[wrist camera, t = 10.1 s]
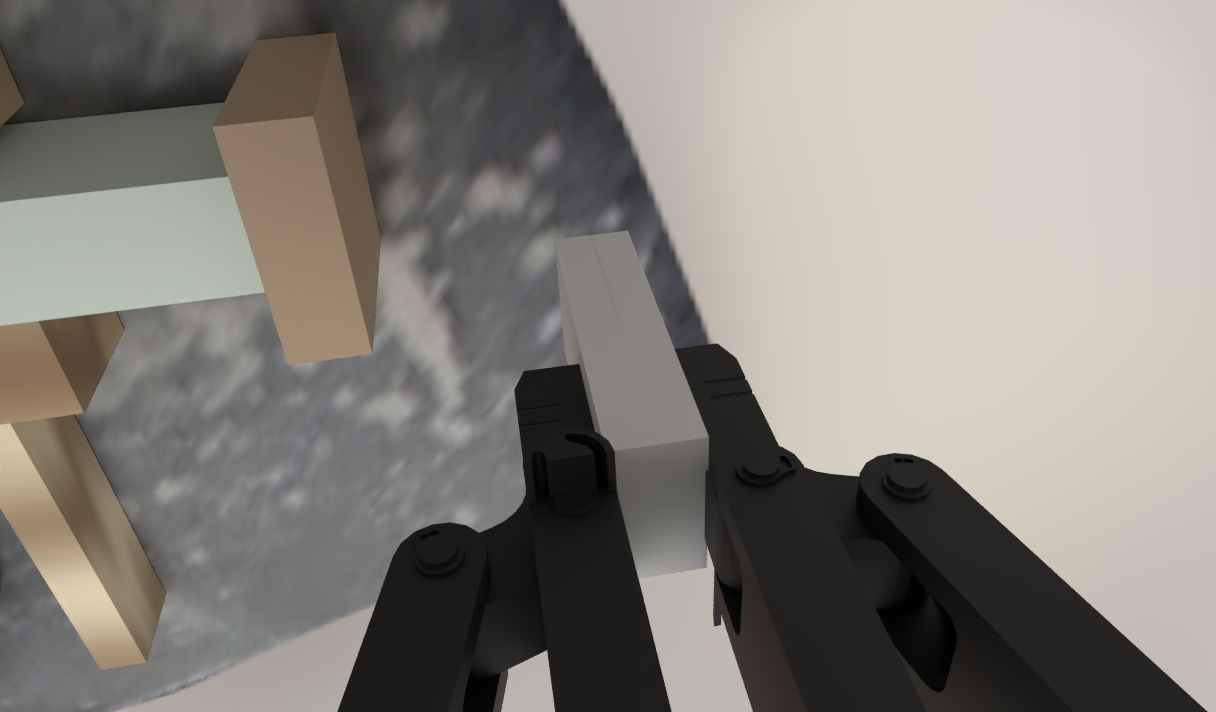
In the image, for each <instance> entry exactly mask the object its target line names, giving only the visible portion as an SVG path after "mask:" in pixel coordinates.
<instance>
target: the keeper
mask: <svg viewBox="0 0 1216 712" xmlns="http://www.w3.org/2000/svg"><path fill="white" fill-rule="evenodd" d="M380 243H381V237H380V232H379V228H378V223H377V219H376V214H375V210H374V205H373V201H372V196H371V192H370V187H369V183H368V178H367V174H366V169H365V165H364V160H363V155H362V151H361V146H360V142H359V137H358V133H357V128H356V124H355V119H354V115H353V110H352V106H351V101H350V97H349V92H348V88H347V83H346V79H345V74H344V70H343V65H342V61H341V56H340V51H339V47H338V42H337V38H336V33H335V32H334V33H324V34H314V35H303V36H293V37H283V38H272V39H262V40H255V42H254V44H253V46H252V48H251V50H250V52H249V54H248V56H247V58H246V60H245V62H244V64H243V66H242V68H241V70H240V72H239V74H238V76H237V78H236V80H235V82H234V84H233V86H232V88H231V90H230V92H229V94H228V96H227V98H226V100H225V102H223V103H213V104H203V105H194V106H184V107H174V108H165V109H155V110H145V111H135V112H126V113H116V114H106V115H97V116H87V117H77V118H68V119H58V120H48V121H39V122H29V123H19V124H10V125H2V126H1V127H0V326H3V325H11V324H19V323H26V322H34V321H42V320H50V319H58V318H66V317H74V316H82V315H90V314H98V313H106V312H114V311H122V310H130V309H138V308H146V307H154V306H161V305H169V304H177V303H185V302H193V301H201V300H209V299H217V298H225V297H233V296H241V295H249V294H257V293H265V294H266V297H267V300H268V303H269V306H270V309H271V313H272V316H273V319H274V322H275V325H276V328H277V331H278V335H279V338H280V341H281V344H282V347H283V350H284V353H285V357H286V360H287V363H288V365H294V364H301V363H309V362H316V361H324V360H331V359H338V358H346V357H353V356H361V355H368V354H372V352H373V339H374V325H375V311H376V298H377V284H378V270H379V257H380Z"/></svg>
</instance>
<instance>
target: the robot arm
mask: <svg viewBox="0 0 1216 712" xmlns="http://www.w3.org/2000/svg"><path fill="white" fill-rule="evenodd" d="M554 242H555V252H556V263H557V273H558V284H559V294H560V305H561V315H562V326H563V337H564V347H565V354H566V359H567V363H568V365H567V366H560V367H552V368H545V369H537V370H530V371H524V372H523V374H522V376H521V378H520V380H519V382H518V384H517V386H516V388H515V390H514V391H515V399H516V407H517V415H518V423H519V430H520V438H521V446H522V454H523V469H524V477H525V484H526V495H525V497H524V500H523V502H522V504H521V506H520V507H519V508H518V509H517V511H516V512H515V513H514V514H513V515H512V516H510V517H509V518H508V519H507V520H505V521H504V522H502V523H500V524H498V525H496V526H494V527H492V528H490V529H488V530H485V531H483V532H480V533H478V532H477V531H475V530H473V529H472V528H470V527H468V526H467V525H461V524H456V523H442V524H433V525H430V526H428V527H425V528H423V529H420V530H418V531H415V532H414V533H413V534H412V535H410V536H409V537H408V538H407V539H405V540H404V541H403V542H402V543H401V544H400V546H399V547H398V549H397V551H396V552H395V554H394V555H393V558H392V561H391V564H390V566H389V569H388V572H387V575H386V578H385V580H384V583H383V586H382V589H381V592H380V594H379V597H378V600H377V603H376V606H375V608H374V611H373V614H372V617H371V620H370V622H369V625H368V628H367V631H366V634H365V637H364V639H363V642H362V645H361V648H360V650H359V653H358V656H357V659H356V661H355V664H354V667H353V670H352V673H351V676H350V678H349V681H348V684H347V687H346V690H345V692H344V695H343V698H342V701H341V703H340V706H339V709H338V712H501V709H502V703H503V698H504V693H505V688H506V683H507V677H508V669H509V668H511V667H513V666H515V665H517V664H520V663H522V662H524V661H526V660H528V659H530V658H532V657H534V656H536V655H538V654H540V653H542V652H544V651H546V650H547V652H548V659H549V667H550V675H551V683H552V690H553V698H554V706H555V712H671V708H670V704H669V700H668V696H667V692H666V687H665V683H664V680H663V676H662V671H661V668H660V664H659V660H658V655H657V651H656V647H655V643H654V639H653V635H652V631H651V627H650V623H649V619H648V615H647V611H646V607H645V603H644V599H643V595H642V591H641V587H640V583H639V579H638V578H643V577H649V576H656V575H662V574H668V573H675V572H681V571H687V570H693V569H700V568H706V567H707V547H708V550H709V553H710V556H711V559H712V562H713V565H714V568H715V569H714V605H713V607H714V608H713V617H714V626H718V625H721V614H722V617H723V620H724V623H725V626H726V630H727V633H728V636H729V639H730V642H731V645H732V648H733V651H734V654H735V658H736V661H737V664H738V667H739V670H740V673H741V676H742V679H743V682H744V685H745V688H746V691H747V694H748V698H749V701H750V704H751V707H752V710H753V712H1207V711H1206V710H1205V709H1204V708H1203V707H1202V706H1201V705H1199V704H1198V703H1197V702H1196V701H1195V700H1194V699H1193V698H1192V697H1191V696H1190V695H1189V694H1187V693H1186V692H1185V691H1184V690H1183V689H1182V688H1181V687H1180V686H1179V685H1178V684H1176V683H1175V682H1174V681H1173V680H1172V679H1171V678H1170V677H1169V676H1168V675H1167V674H1166V673H1165V672H1163V671H1162V670H1161V669H1160V668H1159V667H1158V666H1157V665H1156V664H1155V663H1154V662H1152V661H1151V660H1150V659H1149V658H1148V657H1147V656H1146V655H1145V654H1144V653H1143V652H1142V651H1140V650H1139V649H1138V648H1137V647H1136V646H1135V645H1134V644H1133V643H1132V642H1130V641H1129V640H1128V639H1127V638H1126V637H1125V636H1124V635H1123V634H1122V633H1121V632H1119V630H1117V629H1116V628H1115V627H1114V626H1113V625H1112V624H1111V623H1110V622H1109V621H1108V620H1106V619H1105V618H1104V617H1103V616H1102V615H1101V614H1100V613H1099V612H1098V611H1097V610H1095V609H1094V608H1093V607H1092V606H1091V605H1090V604H1089V603H1088V602H1086V600H1085V599H1083V598H1082V597H1081V596H1080V595H1079V594H1078V593H1077V592H1076V591H1075V590H1074V589H1072V588H1071V587H1070V586H1069V585H1068V584H1067V583H1066V582H1065V581H1064V580H1063V579H1061V578H1060V577H1059V576H1058V575H1057V574H1056V573H1055V572H1054V571H1053V570H1052V569H1051V568H1050V567H1048V566H1047V565H1046V564H1045V563H1044V562H1043V561H1042V560H1041V559H1040V558H1039V557H1038V556H1036V555H1035V554H1034V553H1033V552H1032V551H1031V550H1030V549H1029V548H1028V547H1027V546H1025V545H1024V544H1023V543H1022V542H1021V541H1020V540H1019V539H1018V538H1017V537H1016V536H1015V535H1013V534H1012V533H1011V532H1010V531H1009V530H1008V529H1007V528H1006V527H1005V526H1003V525H1002V524H1001V523H1000V522H999V521H998V520H997V519H996V518H995V517H994V516H993V515H992V514H990V513H989V512H988V511H987V510H986V509H985V508H984V507H983V506H981V505H980V504H979V503H978V502H977V501H976V500H975V499H974V498H973V497H972V496H971V495H970V494H969V493H967V492H966V491H965V490H964V489H963V488H962V487H961V486H960V485H959V484H958V483H957V482H955V481H954V480H953V479H952V478H951V477H950V476H949V475H948V474H947V473H945V472H944V471H943V470H942V469H940V468H939V467H938V466H936V465H935V464H933V463H932V462H930V461H929V460H926V459H923V458H920V457H917V456H914V455H908V454H898V453H893V454H887V455H882V456H877V457H876V458H874V459H872V460H870V461H869V462H867V463H866V464H865V466H864V467H863V469H862V470H861V472H860V476H859V477H858V476H846V475H836V474H828V473H822V472H816V471H813V470H810V469H807V468H805V467H804V465H803V464H802V463H801V461H800V460H799V459H798V458H797V457H796V456H795V454H793V453H791V452H790V451H788V450H786V449H784V448H783V447H780V446H779V445H778V443H777V441H776V439H775V437H774V435H773V433H772V431H771V429H770V427H769V424H768V423H767V420H766V418H765V416H764V414H763V412H762V410H761V408H760V406H759V405H758V402H757V400H756V398H755V396H754V394H752V390H751V388H750V385H749V383H748V382H747V380H745V376H744V373H743V371H742V369H741V367H740V365H739V363H738V361H737V359H736V358H735V357H734V356H733V355H731V354H730V353H729V352H728V351H726V350H725V349H724V348H723V347H721V346H720V345H719V344H709V345H702V346H694V347H687V348H679V349H674V347H673V344H672V342H671V339H670V337H669V334H668V332H667V329H666V327H665V324H664V321H663V319H662V316H661V314H660V311H659V309H658V306H657V304H656V301H655V299H654V296H653V293H652V291H651V288H650V286H649V283H648V281H647V278H646V276H645V273H644V271H643V268H642V265H641V263H640V260H639V258H638V255H637V253H636V250H635V248H634V245H633V243H632V240H631V237H630V235H629V232H628V231H622V232H613V233H605V234H597V235H588V236H580V237H572V238H563V239H555V240H554Z"/></svg>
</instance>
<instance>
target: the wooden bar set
mask: <svg viewBox="0 0 1216 712" xmlns="http://www.w3.org/2000/svg"><path fill="white" fill-rule="evenodd" d="M23 104H24V101H23V99H22V97H21V94H20V92H19V90H18V88H17V85H16V83H15V81H14V78H13V76H12V74H11V72H10V69H9V67H8V65H7V63H6V60H5V58H4V56H3V53H2V51H1V49H0V127H1V126H2V125H3V124H4V123H5V122H6V121H7V120H8V119H9V118H10V117H11V116H12V115H13V114H14V113H15V112H16V111H17V110H18V109H19V108H20V107H21V106H22V105H23ZM123 331H124V329H123V326H122V324H121V322H120V320H119V317H118V315H117V313H116V311H114V312H106V313H98V314H90V315H82V316H74V317H66V318H58V319H50V320H42V321H34V322H26V323H19V324H11V325H3V326H0V509H1V511H2V512H3V514H4V515H5V517H6V519H7V520H8V522H9V523H10V525H11V527H12V528H13V530H14V531H15V533H16V535H17V536H18V538H19V539H20V541H21V543H22V544H23V546H24V547H25V549H26V551H27V552H28V554H29V555H30V557H31V559H32V560H33V562H34V563H35V565H36V567H37V568H38V570H39V571H40V573H41V575H42V576H43V578H44V579H45V581H46V583H47V584H48V586H49V587H50V589H51V591H52V592H53V594H54V595H55V597H56V599H57V600H58V602H59V603H60V605H61V607H62V608H63V610H64V611H65V613H66V615H67V616H68V618H69V619H70V621H71V623H72V624H73V626H74V627H75V629H76V631H77V632H78V634H79V635H80V637H81V639H82V640H83V642H84V643H85V645H86V647H87V648H88V650H89V651H90V653H91V655H92V656H93V658H94V659H95V661H96V663H97V664H98V666H99V667H100V669H101V670H104V669H110V668H116V667H122V666H128V665H134V664H140V663H146V662H147V659H148V656H149V652H150V649H151V645H152V642H153V638H154V635H155V631H156V628H157V624H158V621H159V617H160V614H161V610H162V607H163V603H164V600H165V597H166V593H165V591H164V589H163V587H162V585H161V583H160V581H159V579H158V577H157V575H156V573H155V572H154V570H153V568H152V566H151V564H150V562H149V560H148V558H147V556H146V554H145V552H144V550H143V548H142V546H141V544H140V542H139V540H138V538H137V536H136V534H135V533H134V531H133V529H132V527H131V525H130V523H129V521H128V519H127V517H126V515H125V513H124V511H123V509H122V507H121V505H120V503H119V501H118V499H117V497H116V496H115V494H114V492H113V490H112V488H111V486H110V484H109V482H108V480H107V478H106V476H105V474H104V472H103V470H102V468H101V466H100V464H99V462H98V460H97V459H96V457H95V455H94V453H93V451H92V449H91V447H90V445H89V443H88V441H87V439H86V437H85V435H84V433H83V431H82V429H81V427H80V425H79V423H78V421H77V420H76V418H75V416H74V415H75V414H83V413H85V411H86V409H87V407H88V405H89V403H90V401H91V398H92V396H93V394H94V392H95V390H96V388H97V386H98V384H99V382H100V380H101V377H102V375H103V373H104V371H105V369H106V367H107V365H108V363H109V361H110V359H111V357H112V354H113V352H114V350H115V348H116V346H117V344H118V342H119V340H120V338H121V336H122V334H123Z"/></svg>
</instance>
